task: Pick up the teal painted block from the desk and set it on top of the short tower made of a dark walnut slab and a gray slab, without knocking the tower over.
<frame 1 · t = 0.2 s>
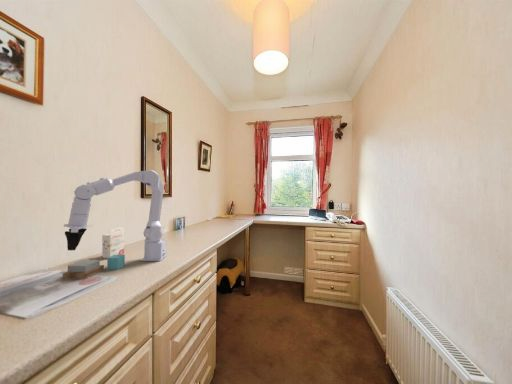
hand: (72, 248, 81), 11 cm above the table, tool pointing down, fingers open, 7 cm apart
walnut slab: (84, 275, 81), on the table, touching gray slab
teal block: (116, 267, 89), on the table
gray slab: (84, 269, 81), point 2 cm above the table, touching walnut slab
ink cartridge box: (113, 256, 104), on the table
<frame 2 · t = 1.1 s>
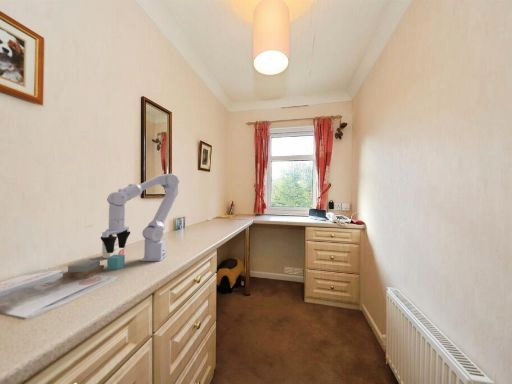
hand: (116, 250, 89), 8 cm above the table, tool pointing down, fingers open, 7 cm apart
nothing on the table moved.
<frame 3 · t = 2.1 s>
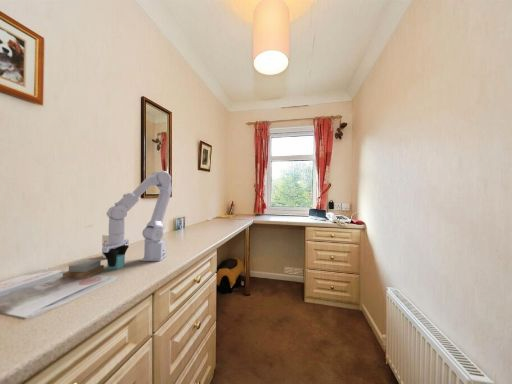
hand: (116, 264, 89), 1 cm above the table, tool pointing down, fingers closed on teal block, 4 cm apart
teal block: (116, 267, 89), on the table, touching gripper
everything else where it was.
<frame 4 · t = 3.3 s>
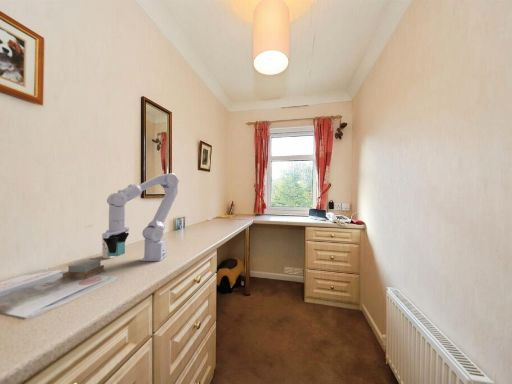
hand: (116, 251, 89), 7 cm above the table, tool pointing down, fingers closed on teal block, 4 cm apart
teal block: (116, 254, 89), point 6 cm above the table, touching gripper
everything else where it was.
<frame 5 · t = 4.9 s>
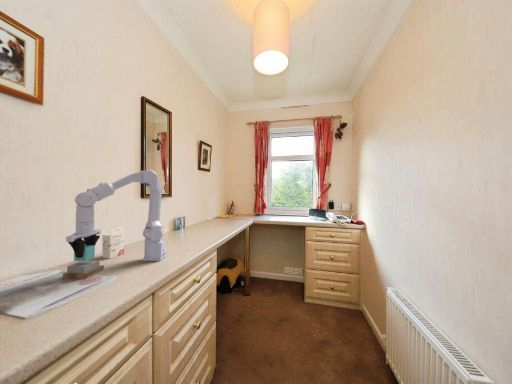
hand: (84, 255, 81), 7 cm above the table, tool pointing down, fingers closed on teal block, 4 cm apart
teal block: (84, 259, 81), point 6 cm above the table, touching gripper
everything else where it was.
when the fingers open (7 cm above the table, at t = 5.0 s): teal block drops 2 cm, resting on gray slab.
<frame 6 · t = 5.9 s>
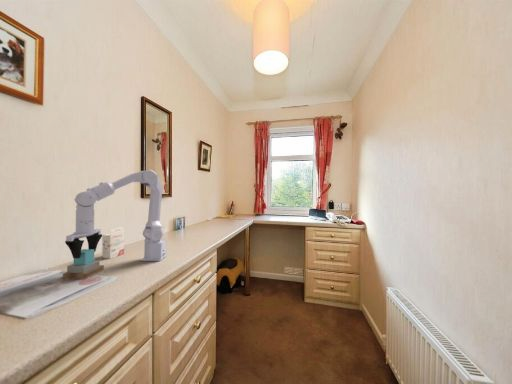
hand: (84, 254, 82), 8 cm above the table, tool pointing down, fingers open, 7 cm apart
teal block: (84, 263, 81), point 4 cm above the table, touching gray slab
gray slab: (83, 269, 81), point 2 cm above the table, touching teal block, walnut slab
everything else where it was.
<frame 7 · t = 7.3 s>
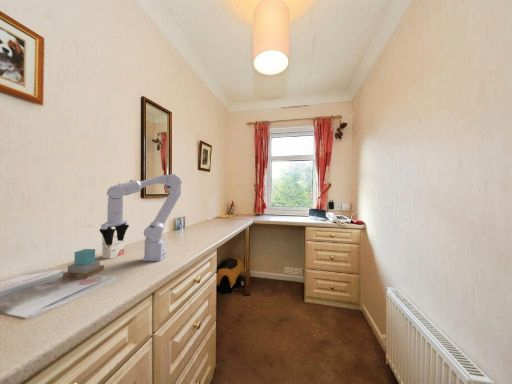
hand: (114, 242, 91), 10 cm above the table, tool pointing down, fingers open, 7 cm apart
walnut slab: (84, 275, 81), on the table
gray slab: (84, 269, 81), point 2 cm above the table, touching teal block
everything else where it was.
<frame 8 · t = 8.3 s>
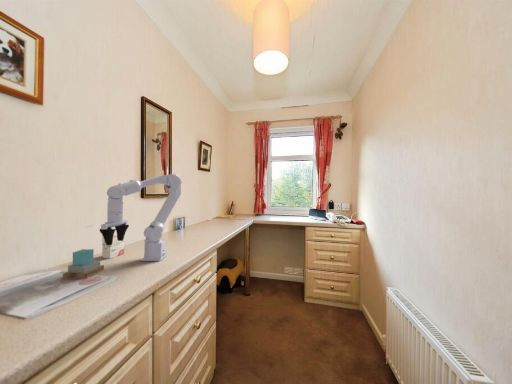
hand: (114, 242, 91), 10 cm above the table, tool pointing down, fingers open, 7 cm apart
walnut slab: (84, 275, 82), on the table, touching gray slab
gray slab: (84, 269, 81), point 2 cm above the table, touching teal block, walnut slab
everything else where it was.
at the end: teal block 0.7 cm off-centre on the gray slab, point 2.6 cm above the gray slab's base; teal block tilted 1°; gray slab moved 0.7 cm from its start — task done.
